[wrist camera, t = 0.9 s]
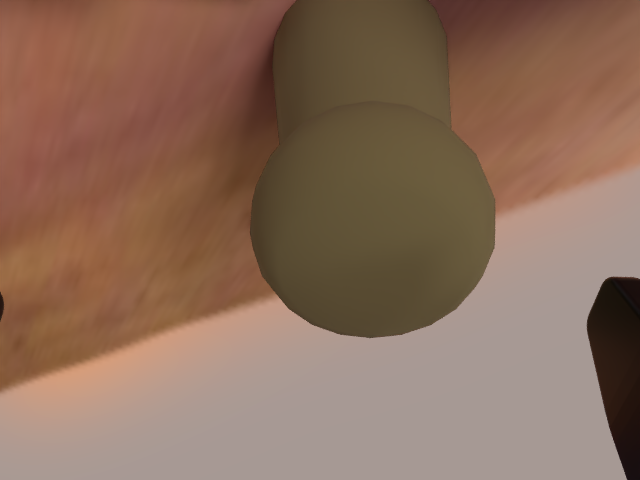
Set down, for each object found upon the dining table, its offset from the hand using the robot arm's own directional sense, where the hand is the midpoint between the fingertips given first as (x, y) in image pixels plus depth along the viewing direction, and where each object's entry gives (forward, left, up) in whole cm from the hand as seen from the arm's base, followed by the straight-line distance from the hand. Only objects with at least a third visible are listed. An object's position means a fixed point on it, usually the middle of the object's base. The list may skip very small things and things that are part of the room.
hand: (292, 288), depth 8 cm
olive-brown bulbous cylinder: (-1, +2, -13) cm, 13 cm away
